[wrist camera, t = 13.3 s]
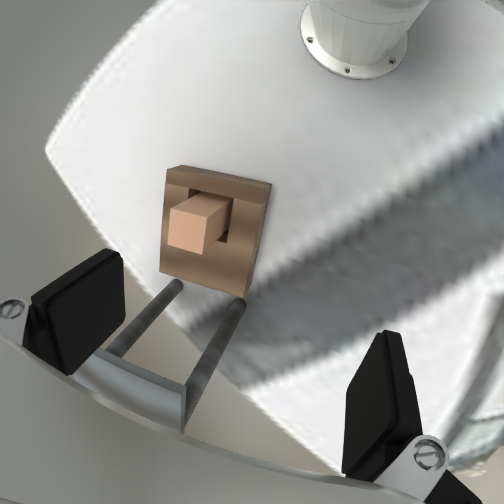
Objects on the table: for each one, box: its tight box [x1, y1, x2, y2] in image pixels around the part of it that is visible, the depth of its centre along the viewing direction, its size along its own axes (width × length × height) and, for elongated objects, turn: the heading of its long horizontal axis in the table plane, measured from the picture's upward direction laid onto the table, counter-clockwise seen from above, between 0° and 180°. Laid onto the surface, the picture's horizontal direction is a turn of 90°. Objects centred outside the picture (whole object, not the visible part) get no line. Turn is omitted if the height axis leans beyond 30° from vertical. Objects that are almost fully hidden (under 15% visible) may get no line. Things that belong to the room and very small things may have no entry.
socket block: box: [73, 165, 271, 434], centre depth 31 cm, size 20×12×23 cm, turn 169°
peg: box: [167, 191, 234, 255], centre depth 35 cm, size 4×4×10 cm
